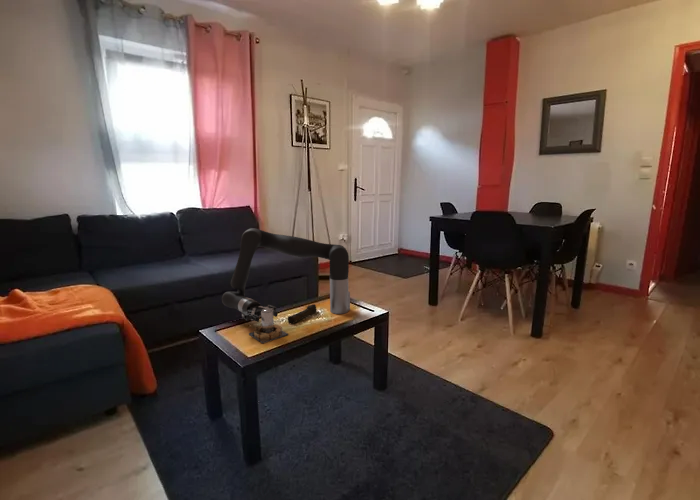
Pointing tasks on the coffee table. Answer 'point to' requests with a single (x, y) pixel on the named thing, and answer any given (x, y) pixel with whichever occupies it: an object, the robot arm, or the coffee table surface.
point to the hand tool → (302, 314)
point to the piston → (267, 320)
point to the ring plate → (268, 334)
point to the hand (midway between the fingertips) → (267, 316)
